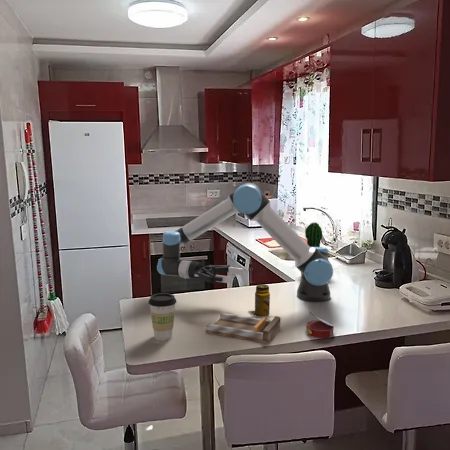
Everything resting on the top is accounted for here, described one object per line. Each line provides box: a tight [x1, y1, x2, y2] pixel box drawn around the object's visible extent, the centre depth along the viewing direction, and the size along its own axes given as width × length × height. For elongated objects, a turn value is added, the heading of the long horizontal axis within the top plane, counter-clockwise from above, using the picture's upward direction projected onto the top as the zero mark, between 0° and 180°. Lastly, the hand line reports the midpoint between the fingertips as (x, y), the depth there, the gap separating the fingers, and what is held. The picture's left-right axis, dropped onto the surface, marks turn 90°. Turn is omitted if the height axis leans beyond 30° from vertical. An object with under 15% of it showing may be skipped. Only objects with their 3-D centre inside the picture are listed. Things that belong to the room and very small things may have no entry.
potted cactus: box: [303, 221, 324, 247], centre depth 235 cm, size 15×15×30 cm
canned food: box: [305, 310, 335, 339], centre depth 165 cm, size 11×10×10 cm
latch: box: [254, 317, 267, 332], centre depth 164 cm, size 1×10×3 cm, turn 157°
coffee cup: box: [148, 292, 177, 341], centre depth 160 cm, size 10×10×15 cm
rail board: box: [205, 312, 282, 344], centre depth 167 cm, size 24×15×4 cm, turn 67°
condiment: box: [247, 284, 273, 318], centre depth 183 cm, size 7×8×12 cm
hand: (237, 275), depth 185 cm, fingers open, 13 cm apart
